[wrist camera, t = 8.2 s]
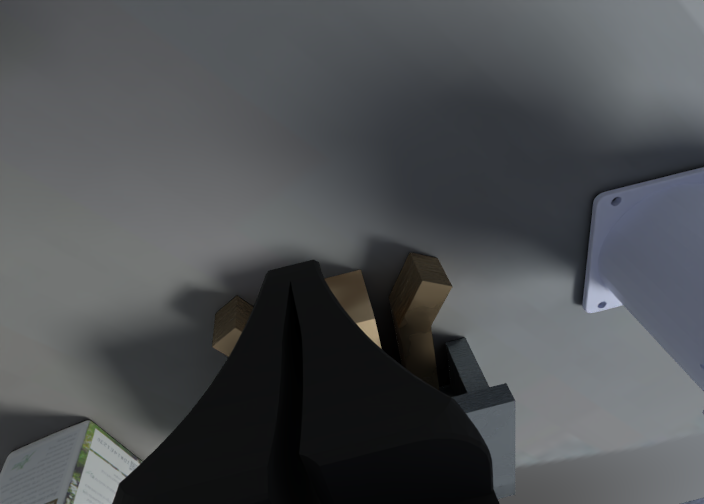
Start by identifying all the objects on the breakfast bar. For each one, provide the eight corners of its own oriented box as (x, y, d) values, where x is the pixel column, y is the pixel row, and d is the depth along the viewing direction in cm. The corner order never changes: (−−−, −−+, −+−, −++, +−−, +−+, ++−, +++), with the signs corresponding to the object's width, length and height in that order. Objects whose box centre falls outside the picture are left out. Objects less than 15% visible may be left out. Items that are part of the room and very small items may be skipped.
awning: (457, 240, 26) (515, 335, 20) (469, 391, 32) (515, 494, 27) (188, 307, 25) (168, 423, 20) (259, 445, 32) (259, 561, 26)
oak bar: (359, 266, 26) (374, 318, 23) (387, 390, 32) (402, 446, 28) (284, 285, 26) (288, 340, 22) (326, 406, 32) (334, 463, 28)
